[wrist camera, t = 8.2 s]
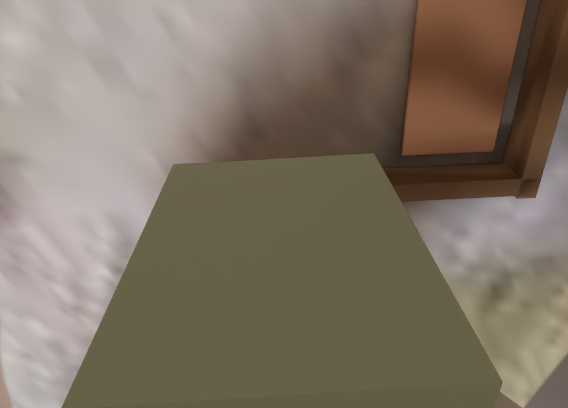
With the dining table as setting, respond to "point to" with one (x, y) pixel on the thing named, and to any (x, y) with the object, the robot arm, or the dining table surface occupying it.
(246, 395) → the sage block
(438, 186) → the brown flat wooden frame
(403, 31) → the dining table surface
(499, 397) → the robot arm
